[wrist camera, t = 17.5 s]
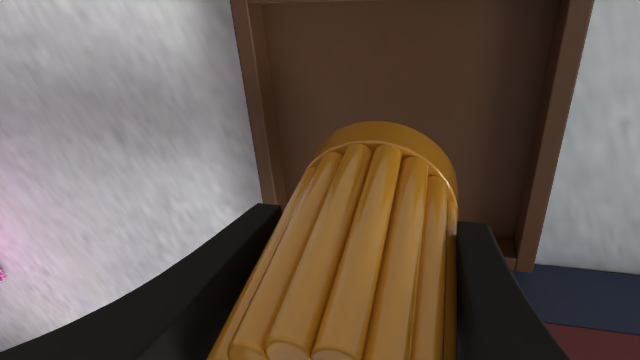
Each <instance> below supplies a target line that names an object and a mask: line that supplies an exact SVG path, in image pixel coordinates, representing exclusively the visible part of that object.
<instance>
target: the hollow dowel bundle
mask: <svg viewBox="0 0 640 360" xmlns="http://www.w3.org/2000/svg"><path fill="white" fill-rule="evenodd" d="M457 223H458V182H457V177H456V173H455V171H454V168H453V166H452V164H451V162H450V160H449V159H448V157H447V156H446V154H445V153H444V152H443V150H442V149H441V148H440V147H439V146H438V145H437V144H436V143H435V142H433V141H432V140H431V139H429V138H428V137H427V136H425V135H424V134H422V133H420V132H418V131H417V130H415V129H412V128H410V127H407V126H404V125H401V124H398V123H393V122H387V121H366V122H360V123H355V124H352V125H349V126H346V127H343V128H341V129H339V130H337V131H335V132H334V133H332V134H331V135H329V136H328V137H327V138H326V139H325V140H324V141H323V142H322V143H321V144H320V145H319V146H318V148H317V149H316V150H315V152H314V154H313V156H312V157H311V159H310V161H309V163H308V165H307V167H306V169H305V171H304V173H303V174H302V176H301V179H300V181H299V183H298V185H297V187H296V188H295V190H294V192H293V194H292V196H291V198H290V200H289V202H288V204H287V206H286V207H285V209H284V211H283V213H282V215H281V217H280V219H279V221H278V223H277V225H276V227H275V228H274V230H273V232H272V234H271V236H270V238H269V240H268V242H267V244H266V246H265V247H264V249H263V251H262V253H261V255H260V257H259V259H258V261H257V263H256V265H255V267H254V268H253V270H252V272H251V274H250V276H249V278H248V280H247V282H246V284H245V286H244V288H243V289H242V291H241V293H240V295H239V297H238V299H237V301H236V303H235V305H234V307H233V308H232V310H231V312H230V314H229V316H228V318H227V320H226V322H225V324H224V326H223V328H222V329H221V331H220V333H219V335H218V337H217V339H216V341H215V343H214V345H213V347H212V349H211V350H210V352H209V354H208V356H207V358H206V360H458V285H457V272H456V232H457Z"/></svg>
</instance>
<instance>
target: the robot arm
mask: <svg viewBox="0 0 640 360" xmlns="http://www.w3.org/2000/svg"><path fill="white" fill-rule="evenodd" d="M281 215H282V208H281V205H272V204H261V203H258V204H256V205H255V206H253V207H252V208H250V209H249V210H248V211H246V212H245V213H244V214H243V215H241V216H240V217H239V218H237V219H236V220H235V221H233V222H232V223H231V224H230V225H228V226H227V227H226V228H224V229H223V230H222V231H220V232H219V233H218V234H216V235H215V236H214V237H212V238H211V239H210V240H208V241H207V242H206V243H204V244H203V245H202V246H200V247H199V248H198V249H196V250H195V251H194V252H192V253H191V254H189V255H188V256H186V257H185V258H183V259H182V260H180V261H179V262H177V263H176V264H175V265H173V266H172V267H170V268H169V269H167V270H166V271H164V272H163V273H161V274H160V275H158V276H157V277H155V278H153V279H152V280H150V281H149V282H147V283H145V284H144V285H142V286H140V287H139V288H137V289H135V290H133V291H132V292H130V293H128V294H126V295H125V296H123V297H121V298H119V299H117V300H116V301H114V302H112V303H110V304H108V305H106V306H104V307H102V308H100V309H98V310H96V311H94V312H92V313H90V314H88V315H86V316H84V317H82V318H80V319H78V320H75V321H73V322H71V323H69V324H67V325H65V326H63V327H61V328H58V329H56V330H54V331H51V332H49V333H47V334H44V335H42V336H40V337H37V338H35V339H32V340H30V341H28V342H25V343H23V344H20V345H18V346H15V347H13V348H10V349H7V350H5V351H2V352H0V360H206V358H207V356H208V354H209V352H210V350H211V349H212V347H213V345H214V343H215V341H216V339H217V337H218V335H219V333H220V331H221V329H222V328H223V326H224V324H225V322H226V320H227V318H228V316H229V314H230V312H231V310H232V308H233V307H234V305H235V303H236V301H237V299H238V297H239V295H240V293H241V291H242V289H243V288H244V286H245V284H246V282H247V280H248V278H249V276H250V274H251V272H252V270H253V268H254V267H255V265H256V263H257V261H258V259H259V257H260V255H261V253H262V251H263V249H264V247H265V246H266V244H267V242H268V240H269V238H270V236H271V234H272V232H273V230H274V228H275V227H276V225H277V223H278V221H279V219H280V217H281ZM456 272H457V285H458V360H571V359H570V357H569V356H568V355H567V354H566V352H565V351H564V350H563V348H562V347H561V346H560V344H559V343H558V342H557V340H556V339H555V338H554V336H553V335H552V334H551V332H550V331H549V329H548V328H547V326H546V325H545V324H544V322H543V321H542V319H541V318H540V316H539V315H538V313H537V312H536V310H535V309H534V307H533V306H532V304H531V303H530V301H529V300H528V298H527V296H526V295H525V293H524V291H523V290H522V288H521V286H520V285H519V283H518V281H517V280H516V278H515V276H514V275H513V273H512V271H511V269H510V267H509V266H508V264H507V262H506V260H505V258H504V256H503V254H502V252H501V250H500V248H499V246H498V244H497V241H496V239H495V237H494V234H493V232H492V229H491V228H490V226H489V225H488V224H487V223H476V222H465V221H458V223H457V232H456Z"/></svg>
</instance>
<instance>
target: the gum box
mask: <svg viewBox="0 0 640 360" xmlns="http://www.w3.org/2000/svg"><path fill="white" fill-rule="evenodd" d="M5 277H6V275H5V273H4V272H3V271H2V269H1V268H0V282H1V281H2V280H3V279H4V278H5Z"/></svg>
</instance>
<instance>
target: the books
mask: <svg viewBox="0 0 640 360" xmlns="http://www.w3.org/2000/svg"><path fill="white" fill-rule="evenodd" d="M511 271H512V273H513V275H514V276H515V278H516V280H517V281H518V283H519V285H520V286H521V288H522V290H523V291H524V293H525V295H526V296H527V298H528V300H529V301H530V303H531V304H532V306H533V307H534V309H535V310H536V312H537V313H538V315H539V316H540V318H541V319H542V321H543V322H544V324H545V325H546V326H547V328H548V329H549V331H550V332H551V334H552V335H553V336H554V338H555V339H556V340H557V342H558V343H559V344H560V346H561V347H562V348H563V350H564V351H565V352H566V354H567V355H568V356H569V357H570V359H571V360H640V276H638V275H629V274H619V273H610V272H601V271H591V270H582V269H572V268H563V267H553V266H544V265H534V267H533V271H532V273H528V272H519V271H515V269H514V270H511Z"/></svg>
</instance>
